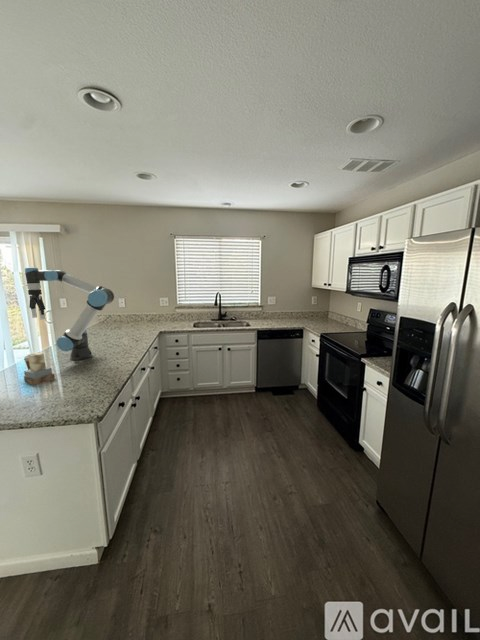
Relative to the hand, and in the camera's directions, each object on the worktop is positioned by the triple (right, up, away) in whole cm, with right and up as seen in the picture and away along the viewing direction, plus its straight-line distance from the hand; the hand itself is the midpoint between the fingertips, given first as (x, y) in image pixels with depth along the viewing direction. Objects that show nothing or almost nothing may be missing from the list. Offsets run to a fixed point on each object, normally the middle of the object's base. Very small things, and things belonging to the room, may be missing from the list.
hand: (38, 318), depth 190 cm
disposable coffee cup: (+6, -38, -12) cm, 40 cm away
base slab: (+19, -40, -24) cm, 51 cm away
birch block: (+19, -32, -25) cm, 46 cm away
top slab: (+19, -36, -25) cm, 48 cm away
